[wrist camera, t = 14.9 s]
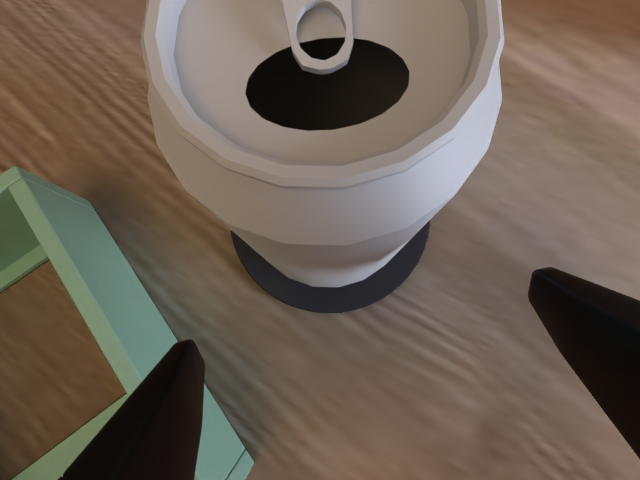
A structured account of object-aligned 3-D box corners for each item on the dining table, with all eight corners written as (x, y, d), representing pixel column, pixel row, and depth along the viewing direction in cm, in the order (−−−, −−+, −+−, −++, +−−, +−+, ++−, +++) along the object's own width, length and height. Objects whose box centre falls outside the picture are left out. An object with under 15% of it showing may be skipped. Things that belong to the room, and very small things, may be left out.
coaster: (417, 328, 17) (420, 328, 16) (212, 295, 17) (209, 295, 17) (436, 136, 19) (438, 132, 18) (252, 113, 19) (250, 109, 19)
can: (260, 299, 17) (89, 255, 5) (247, 154, 18) (97, -134, 7) (416, 278, 17) (615, 186, 5) (390, 135, 18) (492, -189, 7)
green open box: (255, 462, 16) (224, 519, 11) (27, 646, 14) (-106, 790, 10) (89, 200, 19) (14, 164, 14) (-110, 335, 17) (-260, 340, 13)
